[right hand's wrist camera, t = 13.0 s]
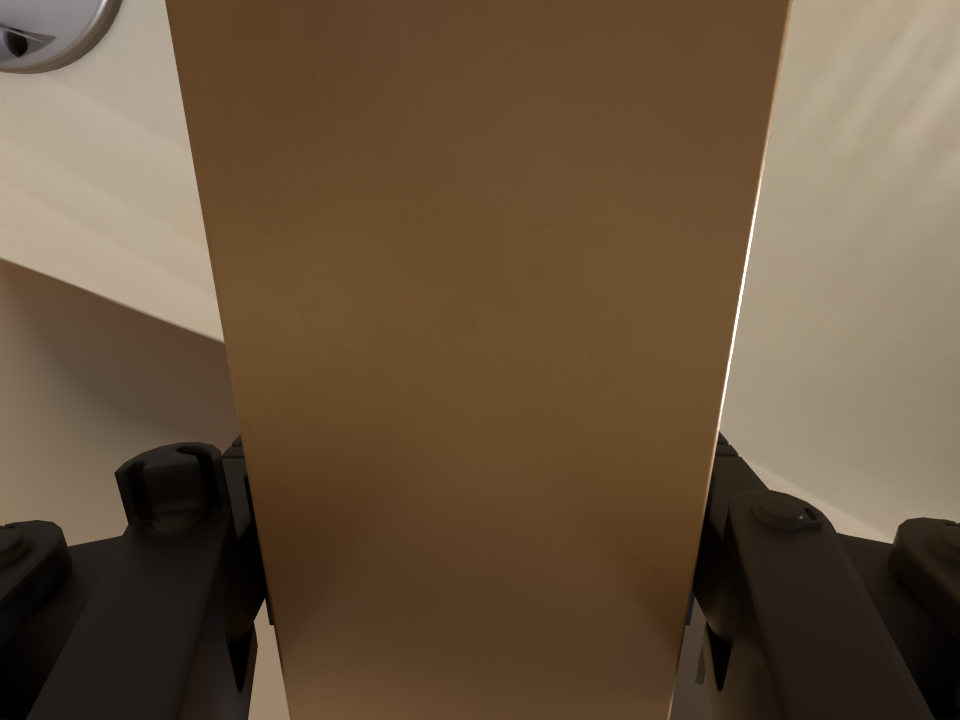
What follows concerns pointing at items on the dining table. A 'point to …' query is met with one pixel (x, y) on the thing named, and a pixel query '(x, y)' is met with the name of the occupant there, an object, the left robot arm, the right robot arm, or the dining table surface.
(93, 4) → the right robot arm
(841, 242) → the dining table surface
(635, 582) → the beam
